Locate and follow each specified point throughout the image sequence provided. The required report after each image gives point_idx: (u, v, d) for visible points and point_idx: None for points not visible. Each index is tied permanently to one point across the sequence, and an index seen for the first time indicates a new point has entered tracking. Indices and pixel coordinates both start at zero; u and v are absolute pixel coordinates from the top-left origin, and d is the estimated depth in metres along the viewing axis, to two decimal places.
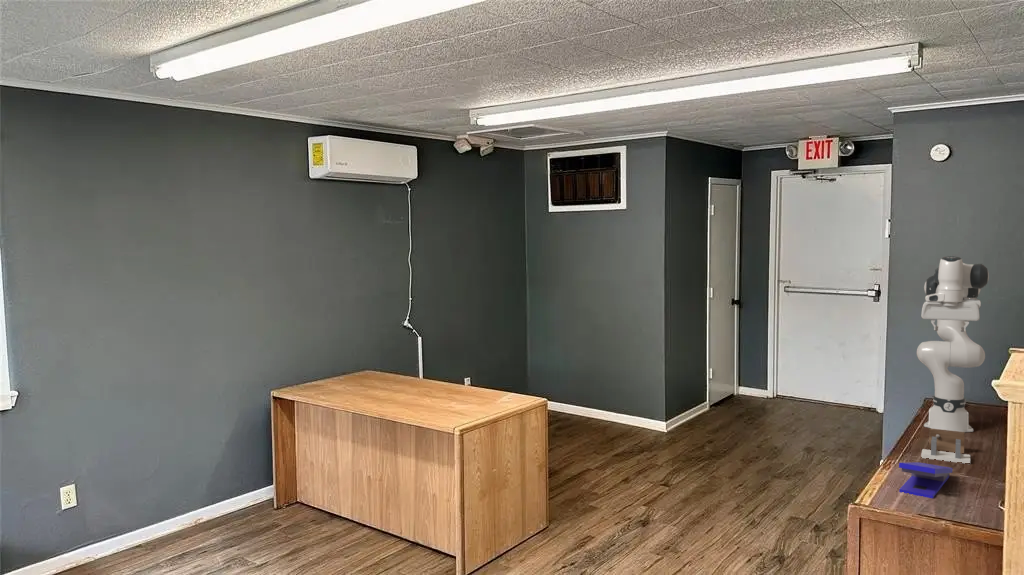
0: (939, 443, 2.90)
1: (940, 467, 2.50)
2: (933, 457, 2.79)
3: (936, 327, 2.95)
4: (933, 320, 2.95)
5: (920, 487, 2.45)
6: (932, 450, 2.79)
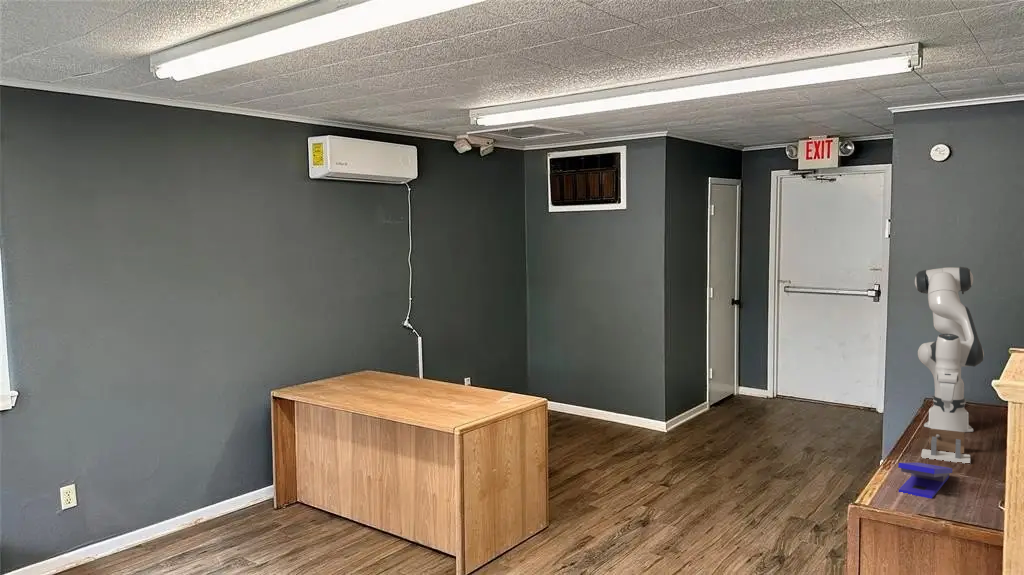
0: (939, 443, 2.90)
1: (940, 467, 2.50)
2: (933, 457, 2.79)
3: (949, 408, 2.85)
4: (950, 402, 2.84)
5: (919, 488, 2.45)
6: (932, 450, 2.79)
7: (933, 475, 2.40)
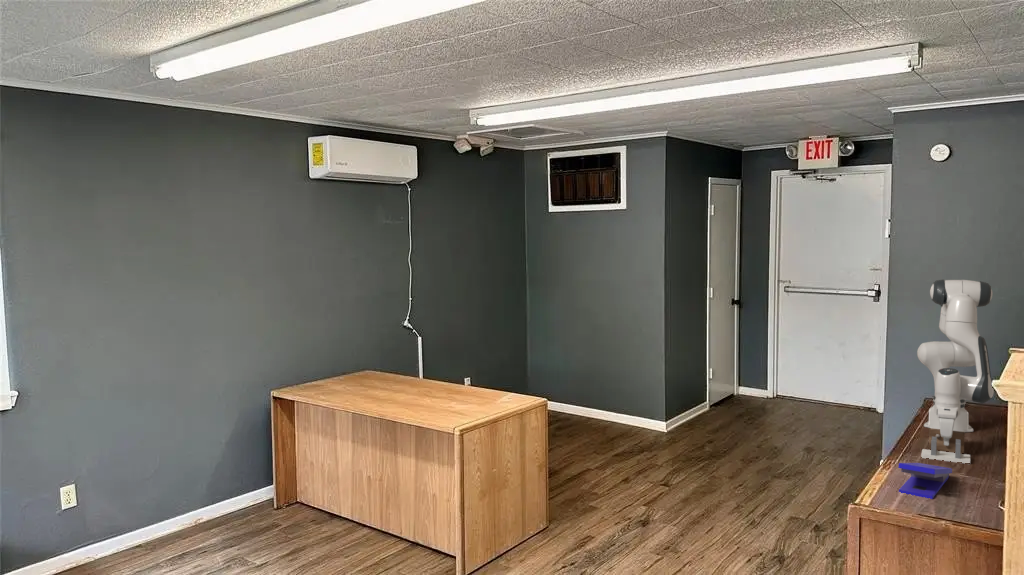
0: (939, 443, 2.90)
1: None
2: (933, 457, 2.79)
3: (948, 441, 2.88)
4: None
5: (920, 488, 2.44)
6: (932, 450, 2.79)
7: (933, 475, 2.39)
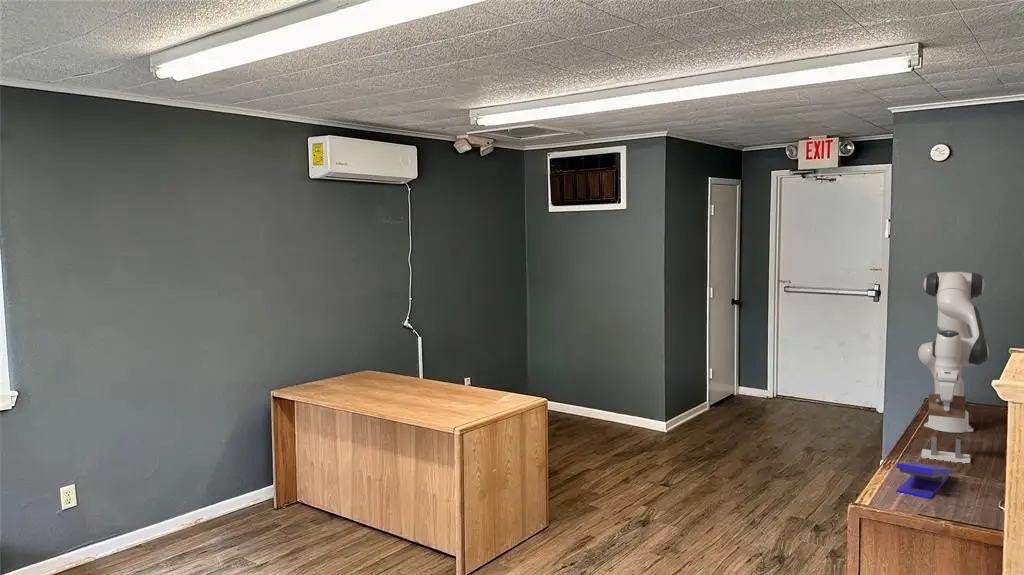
0: (939, 409, 2.79)
1: (939, 468, 2.49)
2: (933, 457, 2.79)
3: None
4: None
5: (918, 488, 2.44)
6: (932, 450, 2.79)
7: (931, 475, 2.39)
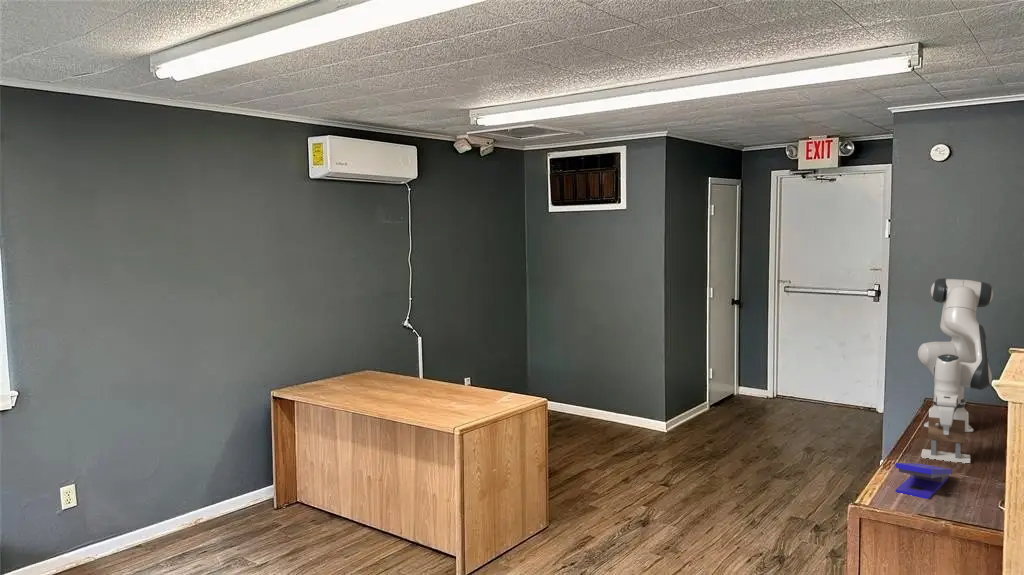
0: (938, 432, 2.80)
1: (938, 468, 2.49)
2: (933, 457, 2.79)
3: (948, 431, 2.77)
4: None
5: (917, 488, 2.44)
6: (932, 450, 2.79)
7: (930, 476, 2.39)
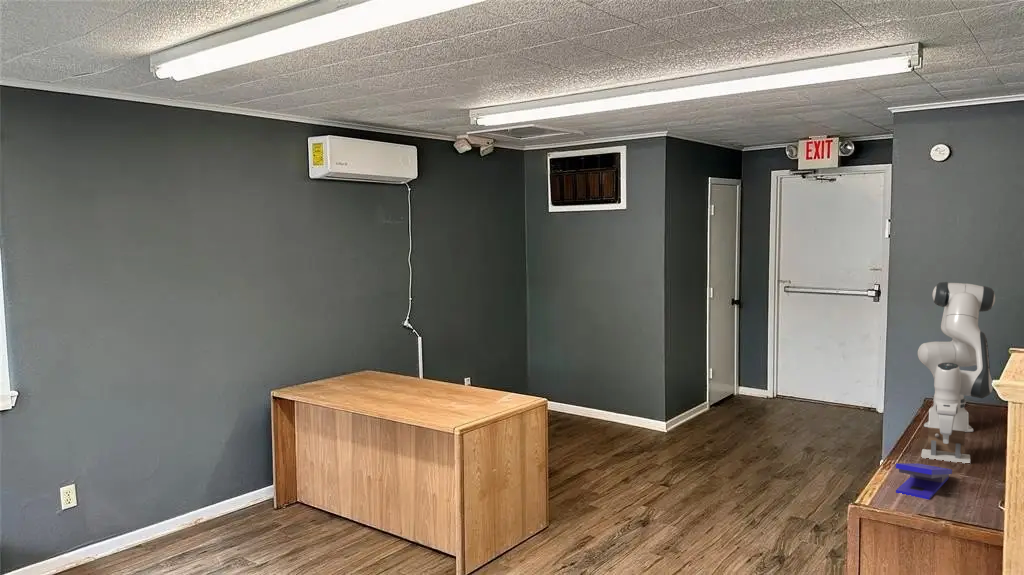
0: (938, 443, 2.80)
1: (938, 468, 2.49)
2: (933, 457, 2.79)
3: (948, 439, 2.77)
4: None
5: (917, 489, 2.44)
6: (932, 450, 2.79)
7: (930, 476, 2.39)
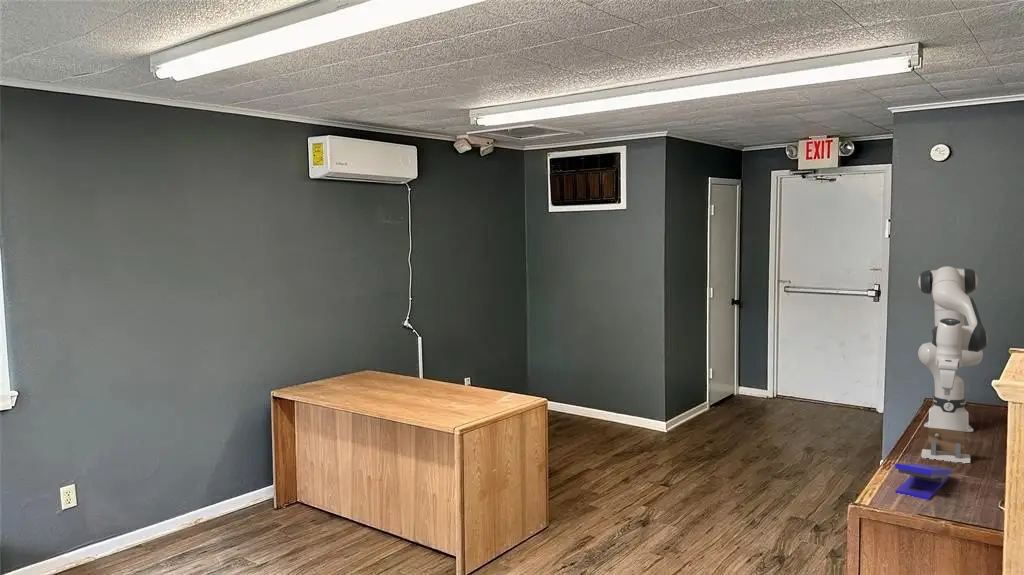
0: (938, 443, 2.80)
1: None
2: (933, 457, 2.79)
3: (949, 395, 2.77)
4: None
5: (917, 489, 2.44)
6: (932, 450, 2.79)
7: (930, 476, 2.39)
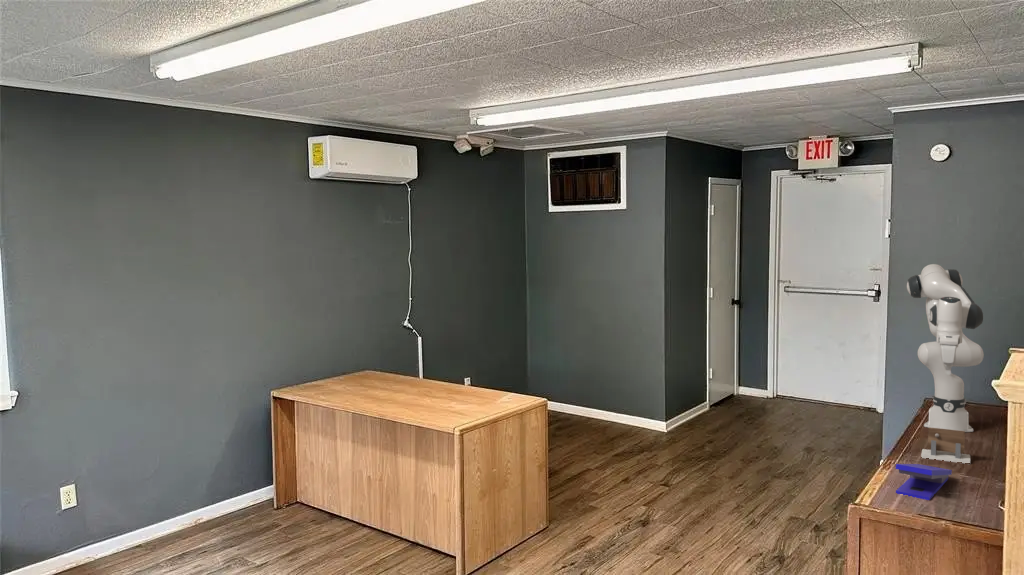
0: (938, 443, 2.80)
1: (938, 469, 2.48)
2: (933, 457, 2.79)
3: (950, 371, 2.86)
4: None
5: (917, 489, 2.43)
6: (932, 450, 2.79)
7: (931, 477, 2.38)
